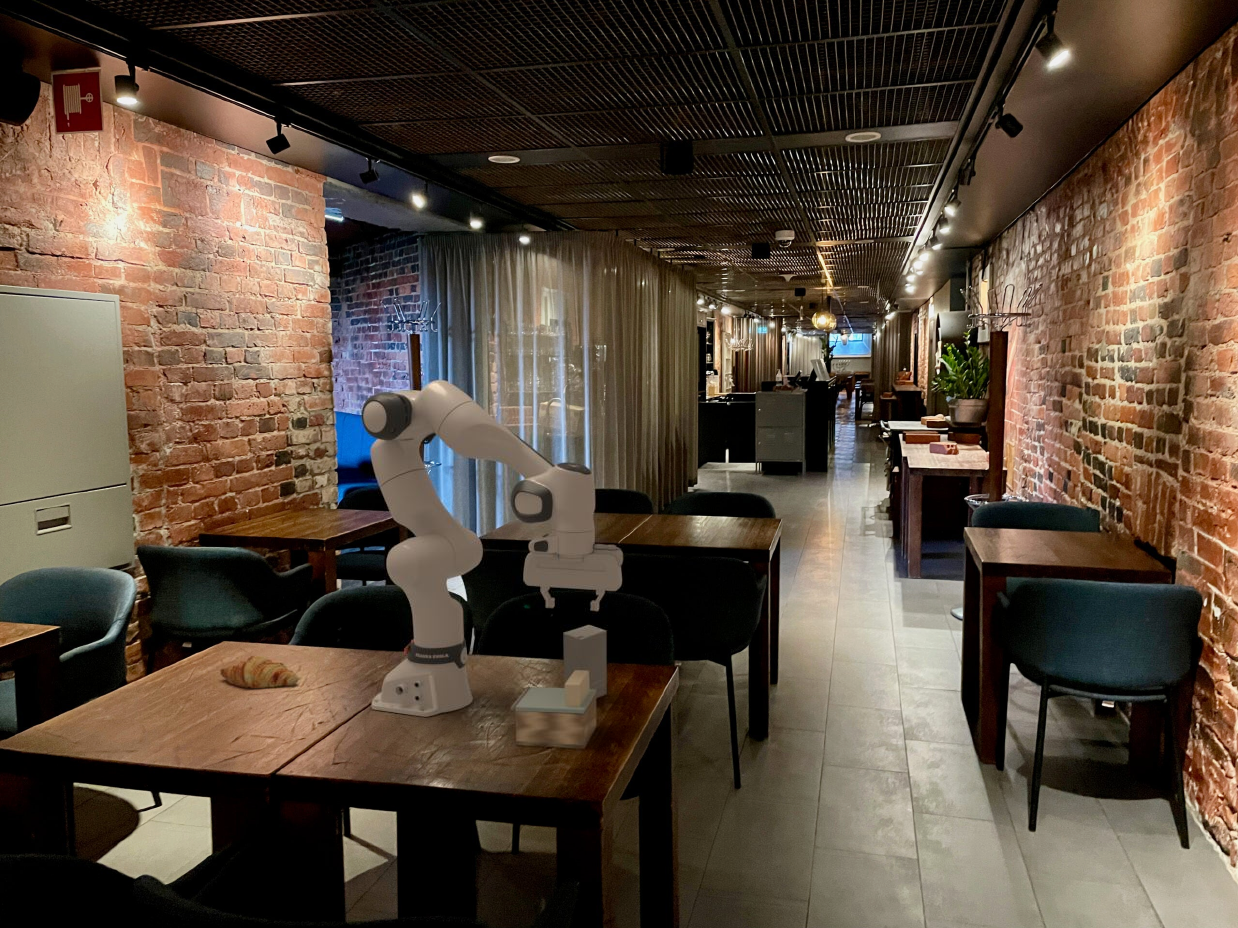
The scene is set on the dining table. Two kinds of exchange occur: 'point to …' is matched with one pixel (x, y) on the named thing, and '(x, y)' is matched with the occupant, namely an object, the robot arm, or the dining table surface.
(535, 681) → the dining table surface
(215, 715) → the dining table surface
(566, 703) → the tan rectangular block
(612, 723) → the dining table surface
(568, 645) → the skincare box
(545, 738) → the crate
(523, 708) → the lid
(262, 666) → the croissant
